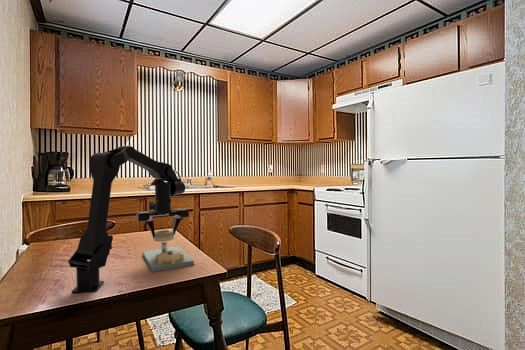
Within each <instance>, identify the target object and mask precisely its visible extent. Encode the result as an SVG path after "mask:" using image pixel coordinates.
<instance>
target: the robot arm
mask: <svg viewBox="0 0 525 350" xmlns="http://www.w3.org/2000/svg"><path fill="white" fill-rule="evenodd" d="M128 162H130V163H132V164H134V165H136V166H137V167H140V168H142V169H144V170H146V171H147V173H148V174H149V176H151V177H152V178H153V179H154V180H153V181H151V183H150V186H154V196H155V197H154V198H155V199H154V201H149V202H148V210H145V211H138V212H137V213H136V214H135V215H136V220H137V221H138V222H143V223H145V224H146V225H147V226H148V228H149V231H150V234H151V235H152V238H153V239H154V238H155V223H154V220H153V218H154V219H155V218H164V217H165V218H166V217H167V218H168V217H172V230H173V231H174V236H175V234H176V232H177V229H178V227H179V225H180V224H181V222H182V220H184V218H189V217H190V212H189V210H188V208H176V210H174V211H173V210H172V197H171V196H176V195H177V196H178V195H182V194H184V193H185V191H186V185H185V183H184V181H182V178H180V177H178V176H177V174H176V172H175V170H174V168H173V165H172V164H169V163H167V162H162V161H157V160H155V159H153V158H152V157H150V156H148V155H146V154H145V153H143V152H141V151H139V150H138V149H136V148H135V147H134V146H132V145H121V146H119V147H116V148H114V149H110V150H108V151H105V152H94V153H93V154H92V155H90V157H89V162H88V164H89V173H90V175H91V178H92V180H93V181H92V182H93V183H92V189H91V197H90V204H89V213H88V218H87V219H88V221H87V227H86V229H85V231H84V233H83V234H82V236H80V239H79V242H78V246H77V249H76V251H74V253H73V254H72V256H71V257H70V258H69V260H68V261H67V262H68V265H69V266H70V268H75V270H76V271H75V272H76V286H75V287H74V288H73V289H72V291H71V294H77V293H88V292H89V293H90V292H97V291H98V290H99V289H100V288H101V287H102V285H104V284H105V281H104V280H100V279H101V278H100V268H103V267H105V266H106V264H107V260H108V257H109V255H110V253H111V250H113V246H112V245H113V244H112V243H113V239H114V237H113V235H112V234H109V233H108V231H107V224H108V223H107V222H108V217H109V207H110V202H111V201H110V199H111V191H112V184H113V181H114V180H115V178H116V177H117V176H118V175H119V171H120V168H121V166H122V165H124V164H126V163H128ZM150 211H152V212H150Z"/></svg>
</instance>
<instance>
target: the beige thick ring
mask: <svg viewBox="0 0 525 350" xmlns="http://www.w3.org/2000/svg"><path fill="white" fill-rule="evenodd" d="M154 232H155V238H153V241H154V242H160V243H162V242H170V241H172V240H174V239H175V235H174V231H173V229H160V230H159V229H158V230H156V231H155V230H154Z"/></svg>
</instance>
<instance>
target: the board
mask: <svg viewBox="0 0 525 350" xmlns="http://www.w3.org/2000/svg"><path fill="white" fill-rule="evenodd" d="M142 256H143V258H144V260H145V262H146V264H147V266H148V267H149V269H150V271H151V273H156V272H161V271H162V272H163V271H168V270H172V269H178V268H183V267H189V266H194V265H195V260H194V259H193V258H192V257H190V256H189V255H188V254H187V253H186V252H185V251H184V250H183V249H182V248H181V247H180V246H172V247H167V251H165V252H163V253H162V252H161V248H159V249H150V250H144V251H143V250H142Z"/></svg>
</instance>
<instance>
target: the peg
mask: <svg viewBox="0 0 525 350" xmlns="http://www.w3.org/2000/svg"><path fill="white" fill-rule="evenodd" d="M160 243H161V246H160V247H161V248H160V249H161V252H162V253H163V252H165V251H167V248H168V241H164V242H160Z"/></svg>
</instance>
